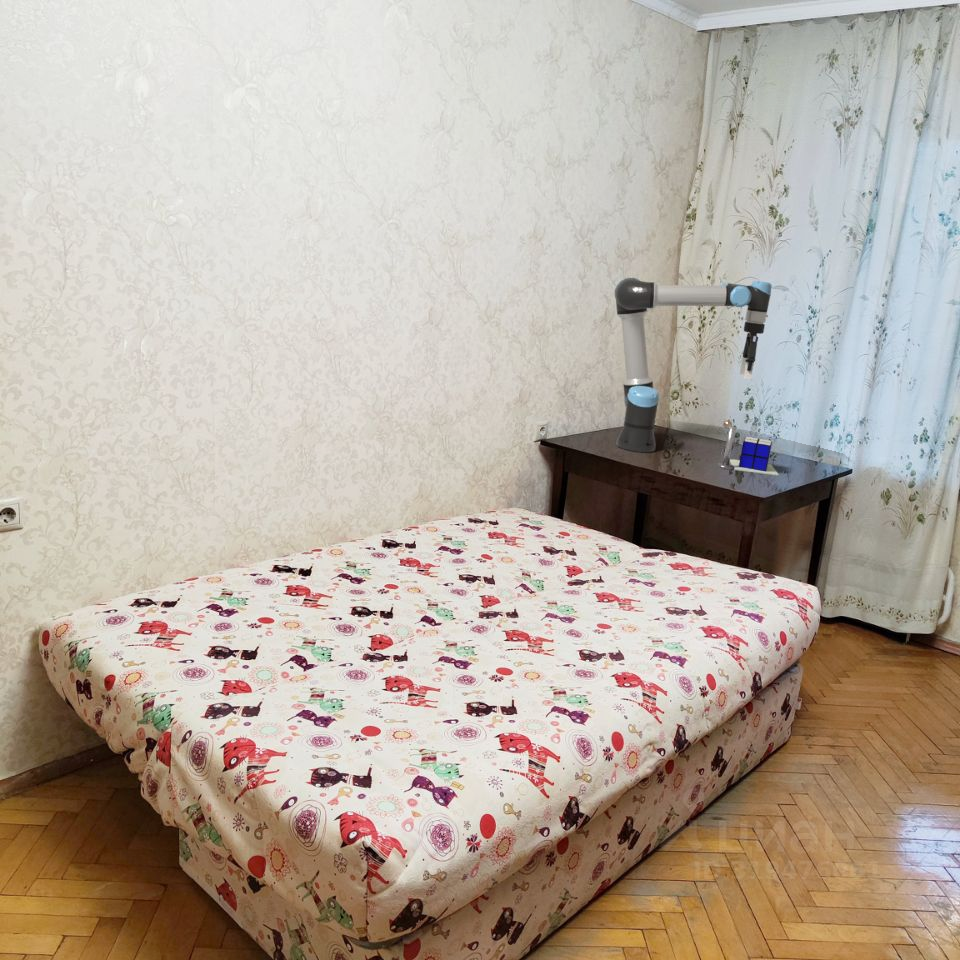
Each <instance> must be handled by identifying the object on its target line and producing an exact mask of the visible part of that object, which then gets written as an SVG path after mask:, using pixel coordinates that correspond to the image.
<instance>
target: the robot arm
mask: <svg viewBox="0 0 960 960" xmlns="http://www.w3.org/2000/svg"><path fill="white" fill-rule="evenodd" d="M771 295H772V284H771V282H767V281H758V280H753V281H752V282H751V284H750V285H745V284H744V285H743V284H736V283H730V282H728V283H726V282H722V283H720V284H719V285H704V284H703V285H696V284H695V285H692V284H690V285H686V284H685V285H683V284H682V285H681V284H677V285H674V284H669V285H668V284H657V283H656V282H652V281H650V282H649V281H641V280H640V279H638V278H635V277H628V278H624V279H622V280H620V281H619V282H618V283H617V285H616V287H615V288H614V299H615V304H616V315H617V316H618V317H619V318H620V320H621V329H622V339H623V349H624V350H623V352H624V363H625V373H626V374H625V375H626V379H625V381H624V382H622V383H623V384H622V385H623V394H624V397H623V403H624V406H625V407H626V408H625V413H624V420H623V427H622V429H621V431H620V433H619V435H618V437H617V439H616V443H615V445H616V447H618V448H619V449H620V448H621V449H623V450H626V451H631V452H637V453H638V452H639V453H651V452H655V451H656V438H655V432H654V429H655V424H656V416H657V411H658V405H659V401H660V398H659V397H660V394H659V392H658V390H657V389H655V388H654V380H653V379H652V378H651V377H650V376H649V365H648V355H647V342H646V332H645V319H644V317H645V315H646V314H647V312H648V309H654V308H656V306H658V307H659V306H661V307H662V306H663V307H666V306H667V307H668V306H669V307H670V306H671V307H672V306H674V307H679V306H680V307H682V306H683V307H689V306H690V307H693V306H694V307H736V308H742V307H746V306H747V308H746V309H747V310H746V315H745V322H744V326H743V331H744V332H746V337H745V343H744V348H743V351H742V358H741V359H742V360H741V365H740V370H739V371H740V372H739V375H743V379H744V380H751V379H752V374H753V369H754V364H755V361H756V355H757V348H758V347H757V346H758V342H759V341H758V340H759V336H758V334H764V332H765V327H766V325H765V324H764V323H766V320H767V318H768V317H769V315H768V310H769V305H770V299H771Z"/></svg>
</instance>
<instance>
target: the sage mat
mask: <svg viewBox="0 0 960 960" xmlns="http://www.w3.org/2000/svg"><path fill="white" fill-rule="evenodd" d="M739 462H740V459H731V458H730V463H729V464H731V465H734V469H733V471H740V472H749V473H754V474H761V475H762V474H763V475H771V476H777V477H778V476H779V473H778V472H777V470H776V469H775V468H774V467H773V465H772V464H771V463H770V464H769V463H768V466H767V470H766V471H760V470H755V469H753V468H752V469H749V468H743V467H739Z"/></svg>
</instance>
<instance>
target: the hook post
mask: <svg viewBox="0 0 960 960" xmlns="http://www.w3.org/2000/svg"><path fill="white" fill-rule="evenodd" d="M723 427H724V429H727V431H728V432H727V438H726V442H725V443H726V444H725V450H724V455H723V460H722V462H717V464H716V465H717V466H716V467H717V468H719V469H723V470H729V471H730V470H731V471H732V470H733V471H734V465H731V463H730V459H731V456H732V451H733V447H734V442H735V436H736V435H735V434H736V429H737V426H733V422H732V421H731V420H729V419H726V420H724V422H723Z"/></svg>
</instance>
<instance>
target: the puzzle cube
mask: <svg viewBox="0 0 960 960" xmlns="http://www.w3.org/2000/svg"><path fill="white" fill-rule="evenodd" d="M772 445H773V441H772V440H768V439H763V438H756V437H751V436H745V437H744V439H743V442H742V447H741V451H740V453H741V454H740V457H739V458H740V459H739V460H740V462H739V467H743V468H749V469H752V468H753V469H755V470H760V471H766V470H767V466H768V464H769V461H770V455H771V450H772Z"/></svg>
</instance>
